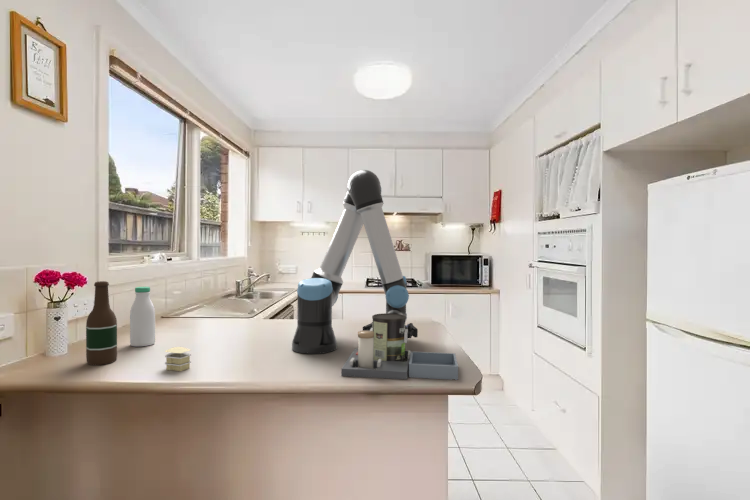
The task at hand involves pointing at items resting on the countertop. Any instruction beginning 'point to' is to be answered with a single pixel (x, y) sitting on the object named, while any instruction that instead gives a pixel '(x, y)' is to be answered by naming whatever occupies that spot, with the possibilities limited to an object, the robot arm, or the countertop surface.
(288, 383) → the countertop surface
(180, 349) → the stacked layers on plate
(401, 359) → the coffee can
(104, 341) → the beer bottle
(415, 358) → the tray
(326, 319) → the robot arm
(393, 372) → the grey holder base
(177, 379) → the countertop surface
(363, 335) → the spice jar
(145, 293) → the milk bottle
